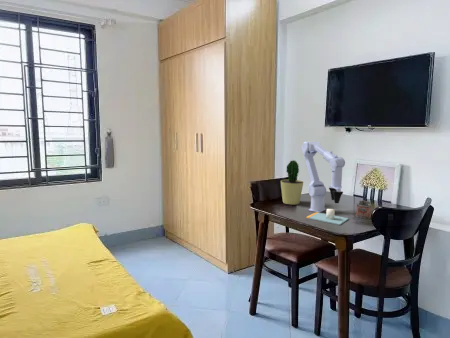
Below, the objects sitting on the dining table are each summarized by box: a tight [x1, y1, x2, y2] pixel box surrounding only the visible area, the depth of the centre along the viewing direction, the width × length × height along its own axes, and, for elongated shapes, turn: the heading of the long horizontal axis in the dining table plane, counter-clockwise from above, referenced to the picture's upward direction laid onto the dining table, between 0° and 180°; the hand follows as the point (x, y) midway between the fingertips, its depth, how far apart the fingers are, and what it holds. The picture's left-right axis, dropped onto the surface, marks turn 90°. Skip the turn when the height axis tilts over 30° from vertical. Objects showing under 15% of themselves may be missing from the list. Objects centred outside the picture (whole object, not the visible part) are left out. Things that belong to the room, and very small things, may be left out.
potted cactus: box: [280, 159, 304, 205], centre depth 223 cm, size 15×15×30 cm
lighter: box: [355, 199, 372, 220], centre depth 191 cm, size 8×3×10 cm, turn 48°
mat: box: [305, 212, 349, 226], centre depth 187 cm, size 14×20×1 cm
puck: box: [325, 208, 336, 219], centre depth 186 cm, size 4×4×5 cm
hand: (335, 201), depth 190 cm, fingers open, 7 cm apart
